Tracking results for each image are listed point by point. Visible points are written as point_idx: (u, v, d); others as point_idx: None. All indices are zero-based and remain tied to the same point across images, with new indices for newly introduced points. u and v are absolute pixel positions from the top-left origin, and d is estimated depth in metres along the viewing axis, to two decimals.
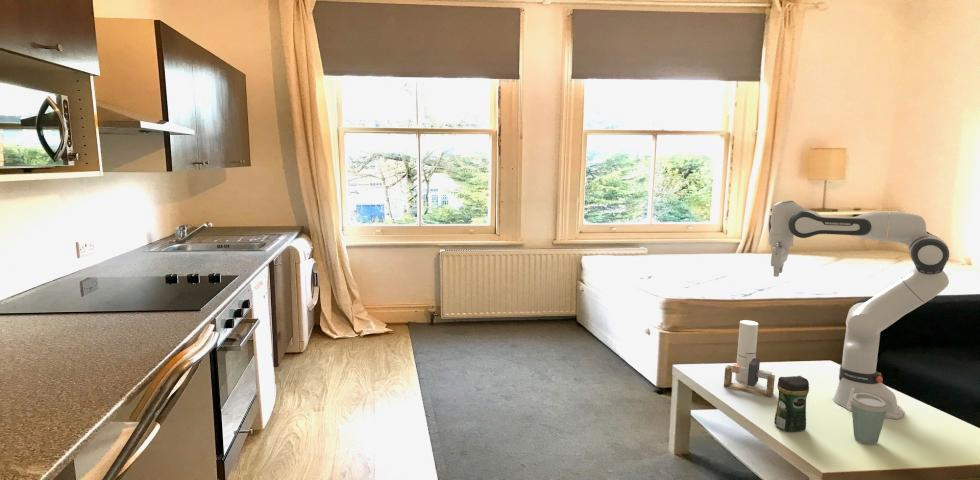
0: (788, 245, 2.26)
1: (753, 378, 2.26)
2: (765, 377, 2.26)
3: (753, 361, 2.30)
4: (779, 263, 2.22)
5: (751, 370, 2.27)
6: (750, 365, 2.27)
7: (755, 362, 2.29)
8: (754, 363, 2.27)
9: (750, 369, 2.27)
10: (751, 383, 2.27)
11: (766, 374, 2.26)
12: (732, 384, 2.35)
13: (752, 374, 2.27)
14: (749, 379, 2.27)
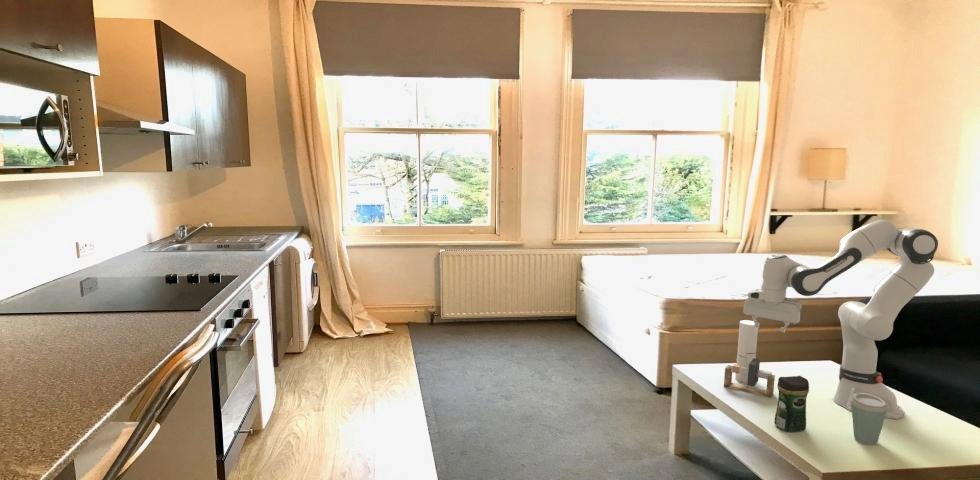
0: None
1: (753, 378, 2.26)
2: (765, 377, 2.26)
3: (753, 361, 2.30)
4: (799, 318, 2.20)
5: (751, 370, 2.27)
6: (750, 365, 2.27)
7: (755, 362, 2.29)
8: (754, 363, 2.27)
9: (750, 369, 2.27)
10: (751, 383, 2.27)
11: (766, 374, 2.26)
12: (732, 384, 2.35)
13: (752, 374, 2.27)
14: (749, 379, 2.27)
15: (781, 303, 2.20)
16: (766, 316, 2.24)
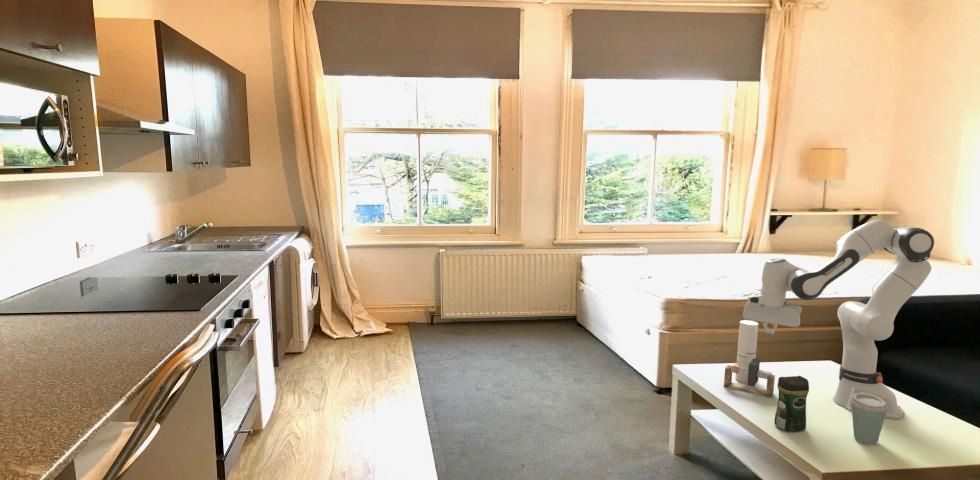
0: None
1: (753, 378, 2.26)
2: (765, 377, 2.26)
3: (753, 361, 2.30)
4: (799, 322, 2.19)
5: (751, 370, 2.27)
6: (750, 365, 2.27)
7: (755, 362, 2.29)
8: (754, 363, 2.27)
9: (750, 369, 2.27)
10: (751, 383, 2.27)
11: (766, 374, 2.26)
12: (732, 384, 2.35)
13: (752, 374, 2.27)
14: (749, 379, 2.27)
15: (781, 307, 2.20)
16: (766, 321, 2.23)
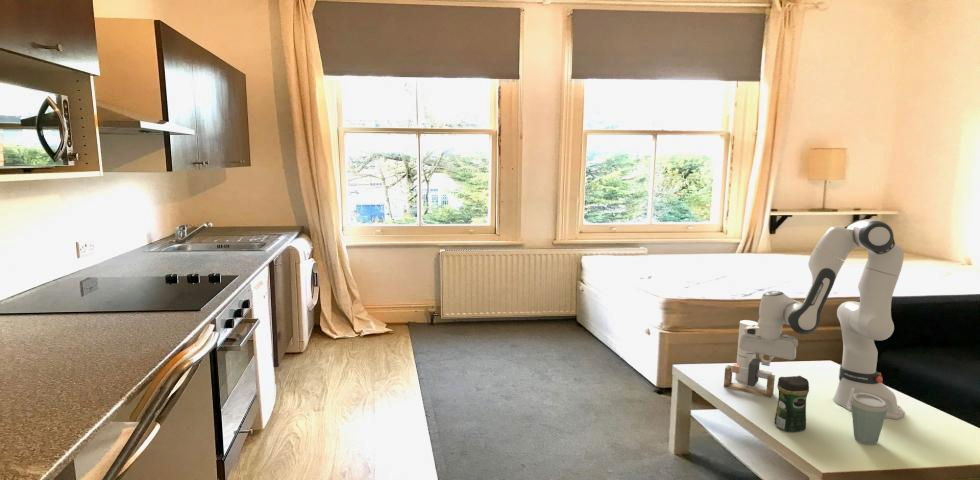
0: None
1: (753, 378, 2.26)
2: (765, 377, 2.26)
3: (753, 361, 2.30)
4: (795, 355, 2.21)
5: (751, 370, 2.27)
6: (750, 365, 2.27)
7: (755, 362, 2.29)
8: (754, 363, 2.27)
9: (750, 369, 2.27)
10: (751, 383, 2.27)
11: (766, 374, 2.26)
12: (732, 384, 2.35)
13: (752, 374, 2.27)
14: (749, 379, 2.27)
15: (777, 340, 2.22)
16: (763, 352, 2.25)
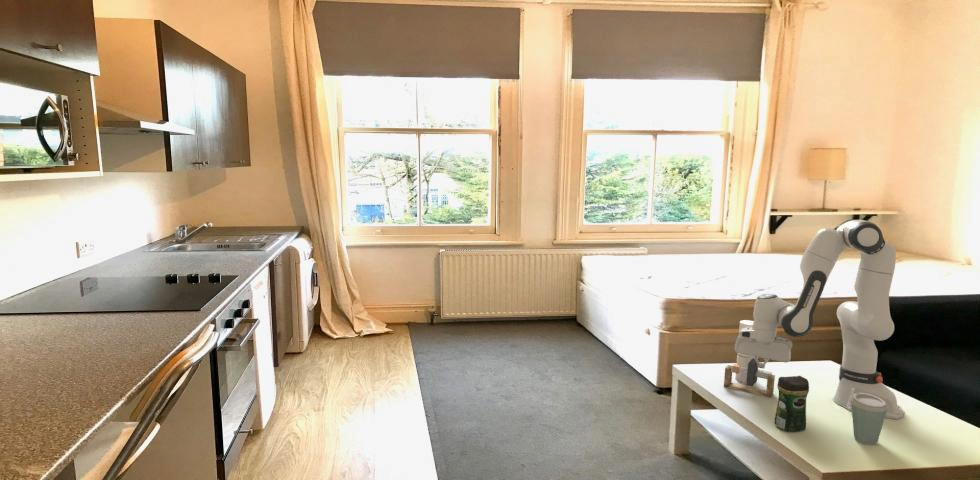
0: None
1: (752, 378, 2.27)
2: (765, 377, 2.26)
3: (752, 361, 2.30)
4: (790, 357, 2.23)
5: (750, 370, 2.27)
6: (749, 365, 2.27)
7: (754, 362, 2.29)
8: (753, 363, 2.28)
9: (749, 369, 2.27)
10: (750, 383, 2.27)
11: (766, 374, 2.26)
12: (732, 384, 2.35)
13: (751, 374, 2.27)
14: (748, 379, 2.28)
15: (772, 342, 2.23)
16: (758, 355, 2.27)
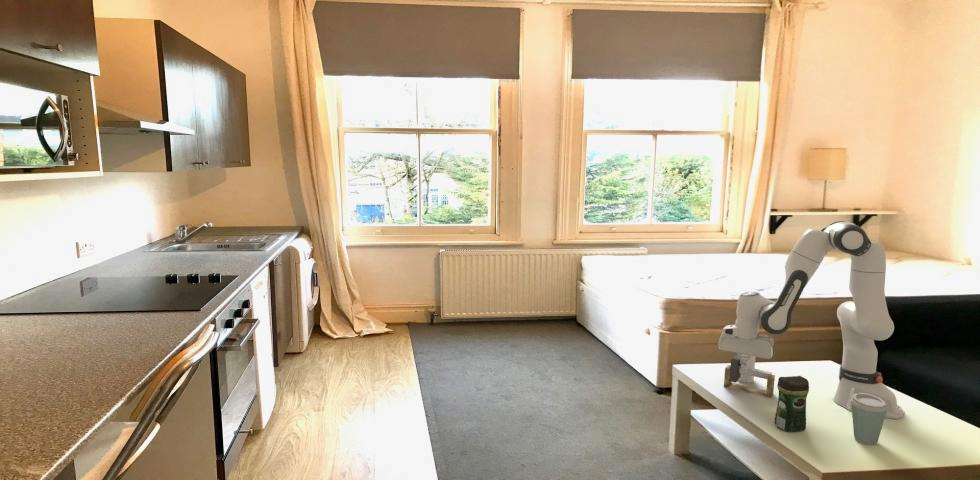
0: None
1: (735, 374, 2.30)
2: (765, 377, 2.26)
3: (735, 357, 2.34)
4: (772, 354, 2.26)
5: (733, 366, 2.31)
6: (732, 361, 2.31)
7: (737, 358, 2.32)
8: (736, 359, 2.31)
9: (732, 365, 2.31)
10: (733, 379, 2.31)
11: (766, 374, 2.26)
12: (732, 384, 2.35)
13: (734, 370, 2.31)
14: (731, 375, 2.31)
15: (754, 339, 2.27)
16: (741, 352, 2.30)
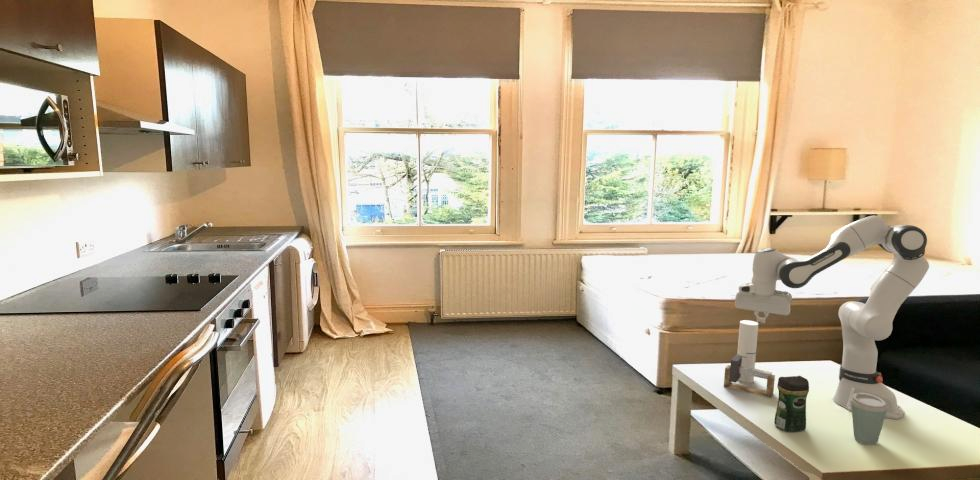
0: None
1: (735, 374, 2.30)
2: (765, 377, 2.26)
3: (735, 357, 2.34)
4: None
5: (733, 366, 2.31)
6: (732, 361, 2.31)
7: (737, 358, 2.32)
8: (736, 359, 2.31)
9: (732, 365, 2.31)
10: (733, 379, 2.31)
11: (766, 374, 2.26)
12: (732, 384, 2.35)
13: (734, 370, 2.31)
14: (731, 375, 2.31)
15: (771, 296, 2.24)
16: (758, 309, 2.27)
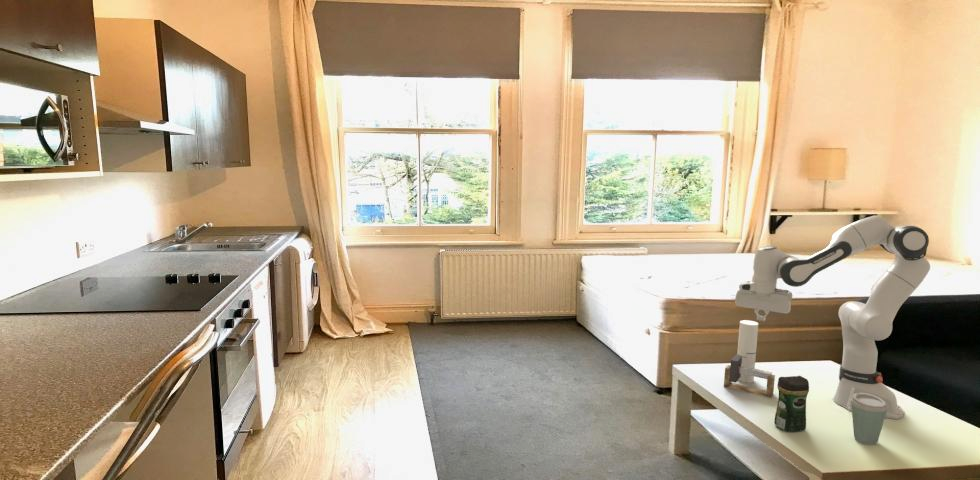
0: None
1: (735, 374, 2.30)
2: (765, 377, 2.26)
3: (735, 357, 2.34)
4: (790, 309, 2.23)
5: (733, 366, 2.31)
6: (732, 361, 2.31)
7: (737, 358, 2.32)
8: (736, 359, 2.31)
9: (732, 365, 2.31)
10: (733, 379, 2.31)
11: (766, 374, 2.26)
12: (732, 384, 2.35)
13: (734, 370, 2.31)
14: (731, 375, 2.31)
15: (772, 294, 2.24)
16: (758, 307, 2.27)
